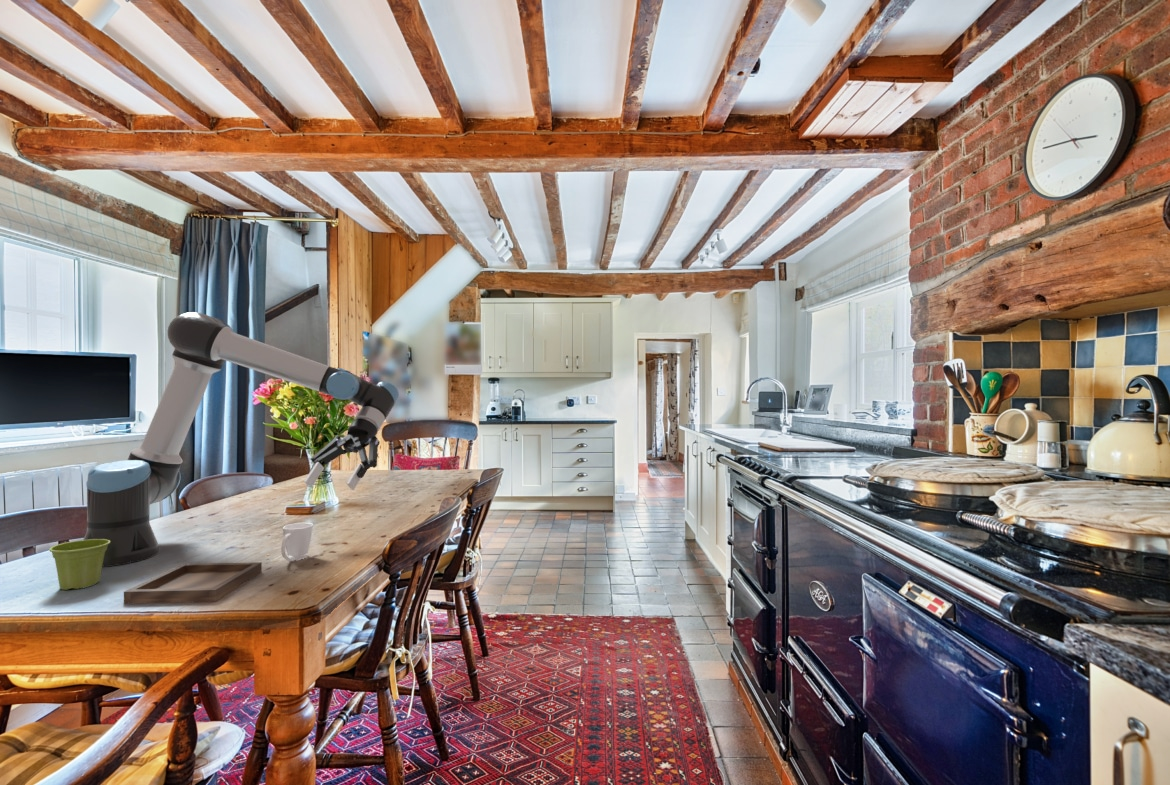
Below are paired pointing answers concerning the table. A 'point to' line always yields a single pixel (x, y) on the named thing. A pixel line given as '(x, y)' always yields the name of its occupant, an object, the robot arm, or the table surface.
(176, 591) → the tray
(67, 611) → the table surface
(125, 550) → the robot arm
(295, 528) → the cup
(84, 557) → the plant pot
